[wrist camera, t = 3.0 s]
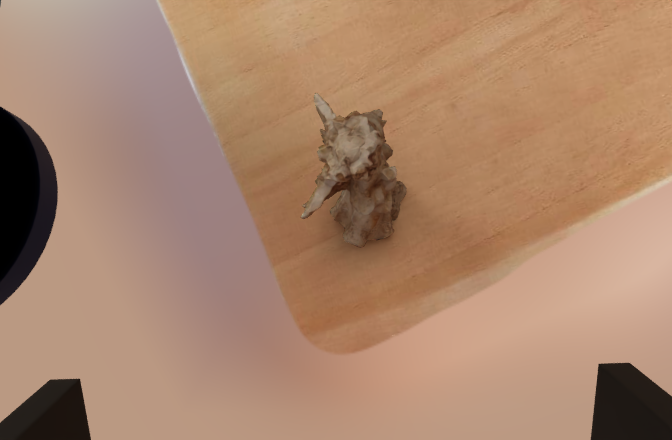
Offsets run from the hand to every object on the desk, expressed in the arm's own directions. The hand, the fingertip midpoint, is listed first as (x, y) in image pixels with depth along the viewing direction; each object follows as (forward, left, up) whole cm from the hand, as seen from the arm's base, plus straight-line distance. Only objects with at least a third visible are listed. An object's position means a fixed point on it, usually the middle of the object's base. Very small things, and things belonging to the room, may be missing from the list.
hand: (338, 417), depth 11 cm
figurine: (0, +11, -20) cm, 23 cm away
